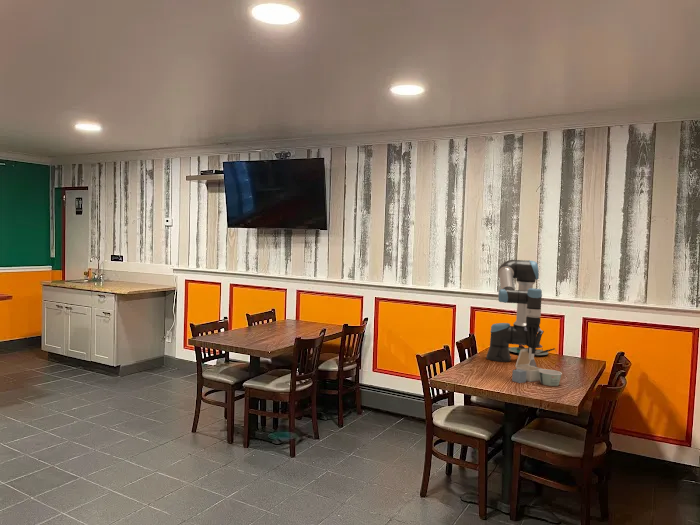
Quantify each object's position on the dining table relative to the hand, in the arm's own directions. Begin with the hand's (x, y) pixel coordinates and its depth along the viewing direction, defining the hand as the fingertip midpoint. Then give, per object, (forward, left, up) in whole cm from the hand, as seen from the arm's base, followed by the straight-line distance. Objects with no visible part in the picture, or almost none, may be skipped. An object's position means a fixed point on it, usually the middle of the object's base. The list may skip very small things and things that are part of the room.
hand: (531, 359), depth 302 cm
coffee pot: (-11, +18, -11) cm, 24 cm away
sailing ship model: (-54, +62, -11) cm, 83 cm away
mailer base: (0, 0, -11) cm, 11 cm away
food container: (+12, +2, -11) cm, 16 cm away
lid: (-4, 0, 0) cm, 4 cm away
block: (+2, -11, -11) cm, 16 cm away
